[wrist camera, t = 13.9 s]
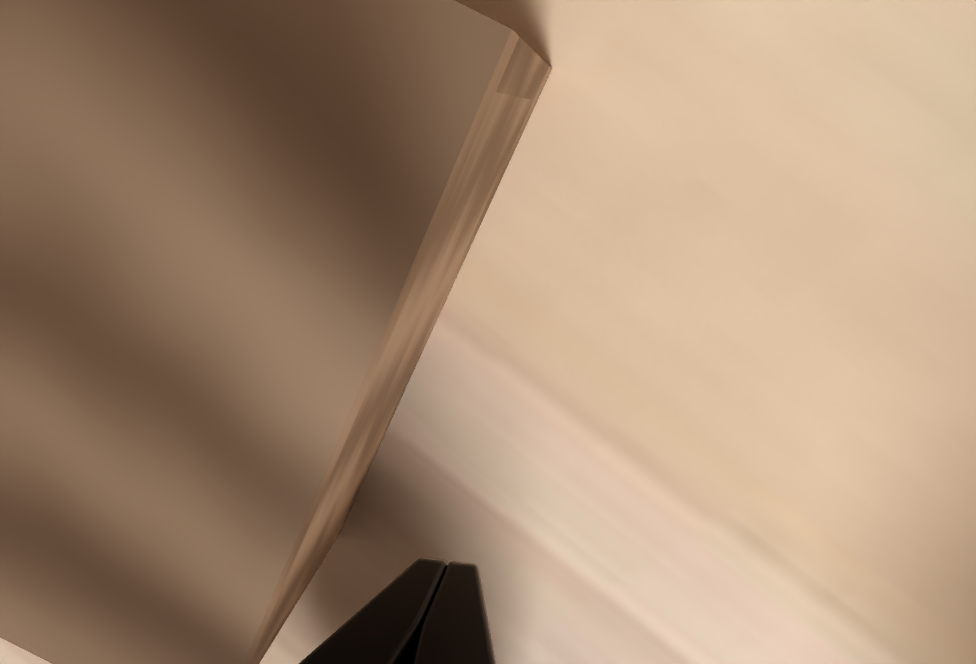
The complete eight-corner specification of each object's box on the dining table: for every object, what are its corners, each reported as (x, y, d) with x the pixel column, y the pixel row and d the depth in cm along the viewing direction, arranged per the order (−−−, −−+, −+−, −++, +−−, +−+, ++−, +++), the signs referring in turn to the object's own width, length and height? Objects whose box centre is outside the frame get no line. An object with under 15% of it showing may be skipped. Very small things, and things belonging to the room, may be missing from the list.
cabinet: (337, 537, 26) (210, 742, 17) (126, 431, 26) (-104, 585, 17) (551, 68, 18) (511, 28, 10) (253, -82, 18) (-45, -250, 10)
